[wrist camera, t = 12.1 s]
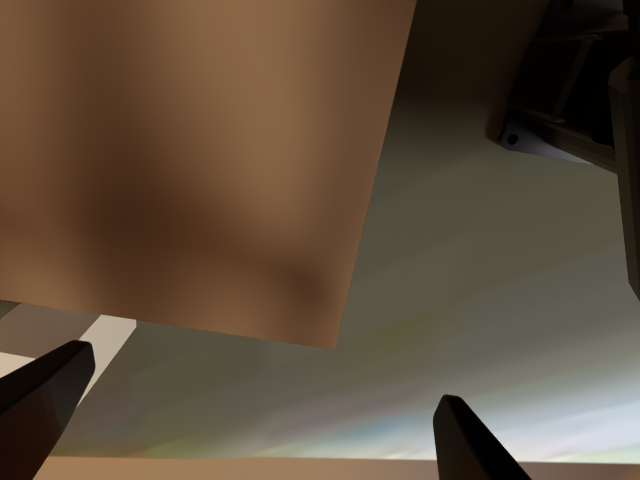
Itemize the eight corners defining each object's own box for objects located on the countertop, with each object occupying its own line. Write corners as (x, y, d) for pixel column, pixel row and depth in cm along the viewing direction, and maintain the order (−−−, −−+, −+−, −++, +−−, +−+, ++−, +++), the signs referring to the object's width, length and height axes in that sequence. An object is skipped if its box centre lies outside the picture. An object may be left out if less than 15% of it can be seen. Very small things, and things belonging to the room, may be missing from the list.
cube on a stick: (128, 69, 17) (9, 78, 11) (136, 326, 25) (67, 419, 18) (41, 49, 17) (-129, 48, 11) (75, 315, 24) (-15, 405, 18)
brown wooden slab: (385, -5, 16) (430, -59, 8) (335, 242, 21) (334, 349, 13) (51, -66, 15) (-238, -186, 7) (89, 203, 20) (-56, 291, 13)
